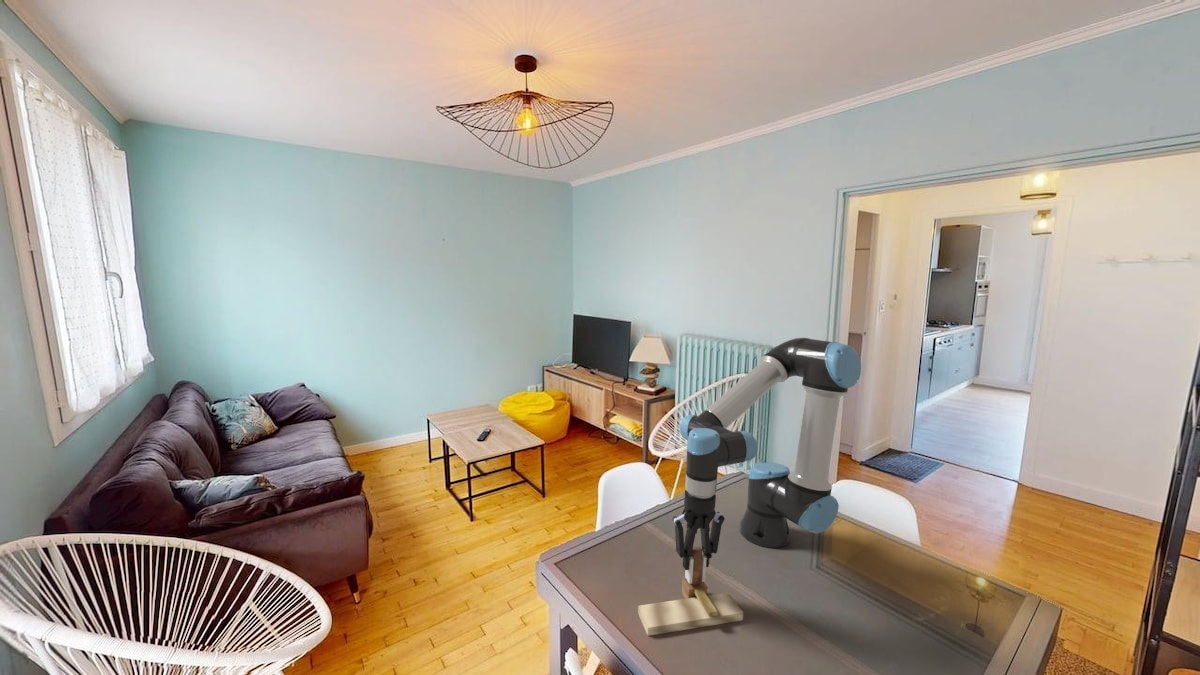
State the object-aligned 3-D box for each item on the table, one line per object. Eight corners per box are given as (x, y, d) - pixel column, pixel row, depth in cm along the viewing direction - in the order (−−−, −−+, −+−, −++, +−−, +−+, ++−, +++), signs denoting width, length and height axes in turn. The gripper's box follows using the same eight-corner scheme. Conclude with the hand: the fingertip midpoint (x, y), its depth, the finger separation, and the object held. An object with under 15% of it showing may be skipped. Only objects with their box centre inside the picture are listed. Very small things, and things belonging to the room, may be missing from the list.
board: (727, 599, 112) (728, 592, 112) (742, 620, 106) (743, 612, 105) (637, 613, 107) (638, 605, 106) (647, 635, 100) (647, 627, 100)
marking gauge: (699, 590, 115) (702, 544, 114) (722, 625, 104) (725, 574, 102) (681, 593, 114) (684, 546, 112) (702, 628, 103) (705, 577, 101)
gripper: (721, 482, 115) (716, 566, 118) (664, 487, 111) (660, 573, 114) (737, 496, 107) (730, 584, 110) (676, 501, 104) (671, 593, 107)
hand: (694, 578), depth 112 cm, fingers closed on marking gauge, 3 cm apart
